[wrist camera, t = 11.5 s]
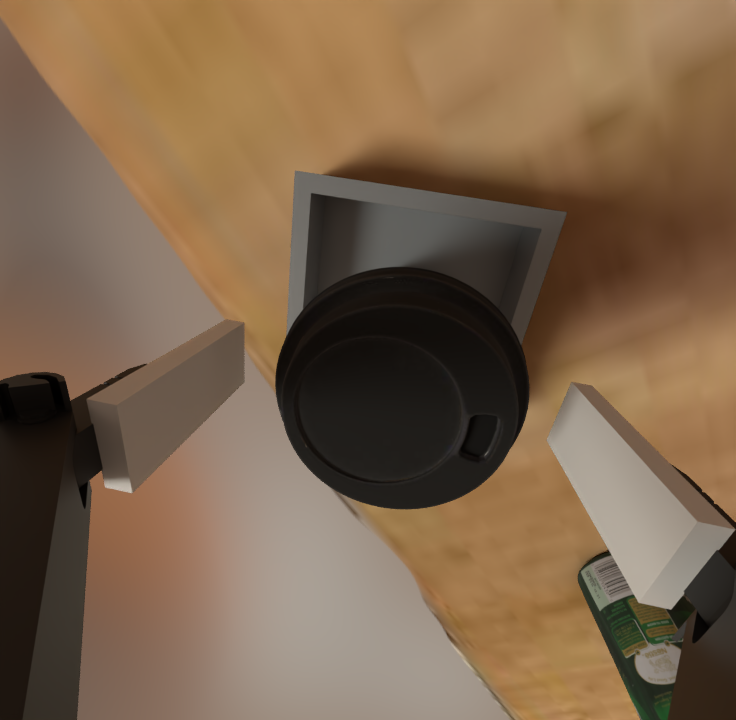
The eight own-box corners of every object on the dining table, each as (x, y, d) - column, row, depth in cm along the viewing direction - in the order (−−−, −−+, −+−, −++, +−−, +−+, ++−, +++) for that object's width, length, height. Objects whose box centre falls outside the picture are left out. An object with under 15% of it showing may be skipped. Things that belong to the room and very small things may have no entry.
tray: (539, 212, 23) (567, 212, 19) (478, 407, 29) (488, 440, 25) (316, 177, 24) (294, 170, 20) (301, 374, 30) (283, 400, 26)
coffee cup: (485, 350, 26) (563, 507, 12) (364, 379, 28) (315, 539, 14) (457, 219, 23) (520, 231, 9) (323, 263, 25) (210, 326, 11)
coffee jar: (691, 593, 34) (969, 979, 17) (610, 619, 36) (778, 973, 19) (643, 531, 32) (906, 901, 15) (561, 563, 34) (702, 906, 17)
